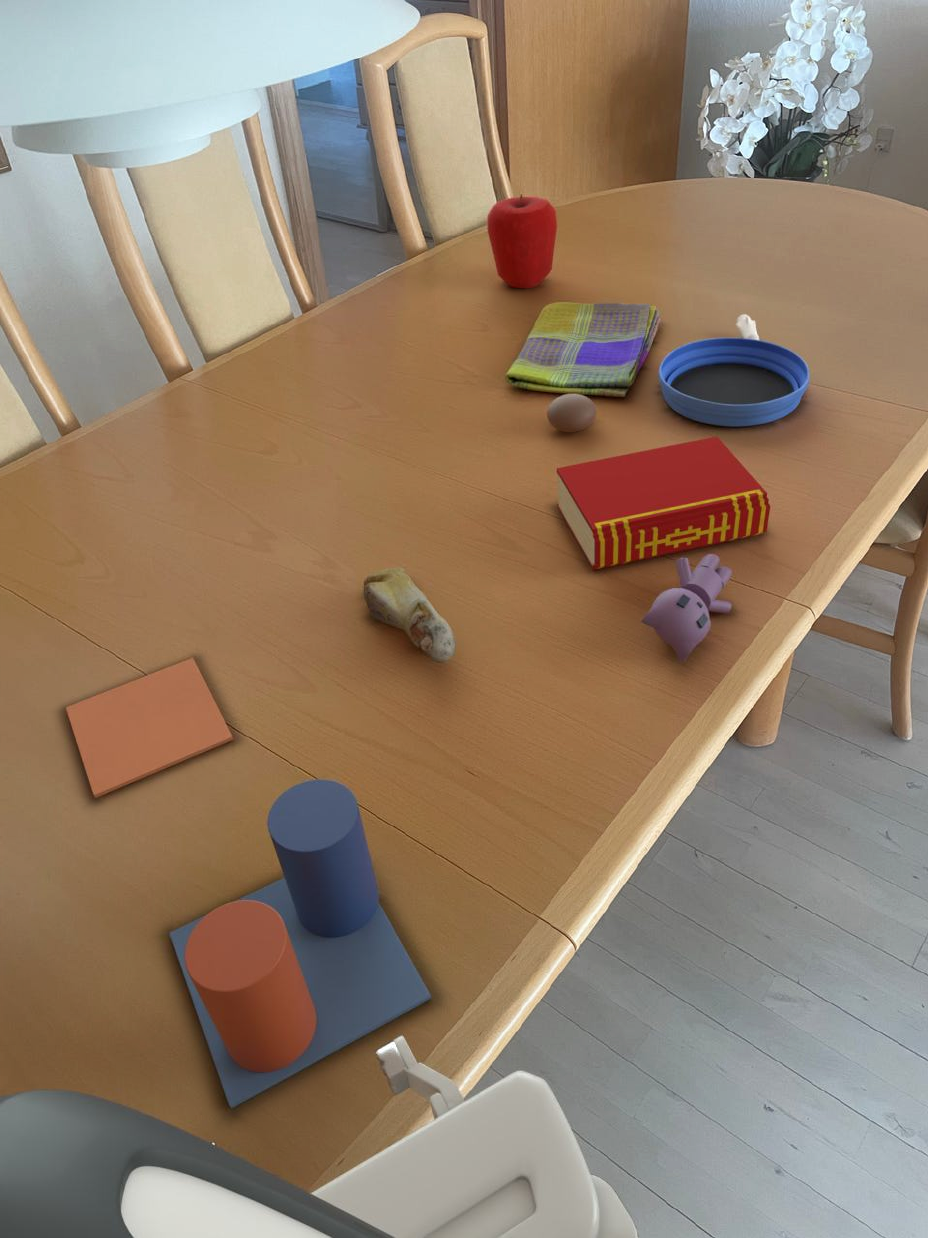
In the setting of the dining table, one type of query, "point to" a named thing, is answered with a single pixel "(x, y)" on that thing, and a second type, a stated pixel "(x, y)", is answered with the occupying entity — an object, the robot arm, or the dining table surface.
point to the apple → (522, 239)
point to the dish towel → (585, 348)
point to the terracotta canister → (251, 985)
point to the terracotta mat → (146, 726)
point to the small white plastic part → (747, 327)
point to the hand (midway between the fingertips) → (298, 1099)
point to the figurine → (689, 605)
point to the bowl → (733, 381)
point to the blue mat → (322, 989)
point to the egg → (571, 412)
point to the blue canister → (324, 857)
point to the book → (660, 502)
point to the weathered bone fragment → (408, 612)
